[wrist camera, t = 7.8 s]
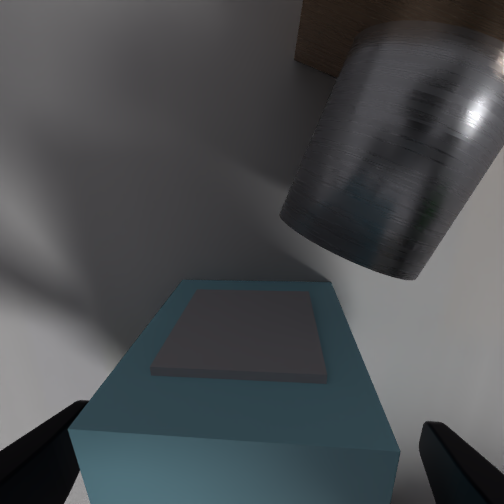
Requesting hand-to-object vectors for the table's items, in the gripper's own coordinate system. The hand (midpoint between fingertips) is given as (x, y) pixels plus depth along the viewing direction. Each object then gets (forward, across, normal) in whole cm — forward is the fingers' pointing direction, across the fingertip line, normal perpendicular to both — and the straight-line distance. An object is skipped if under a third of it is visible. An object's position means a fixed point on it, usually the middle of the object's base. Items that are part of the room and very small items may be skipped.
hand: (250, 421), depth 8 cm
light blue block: (+3, 0, 0) cm, 3 cm away
